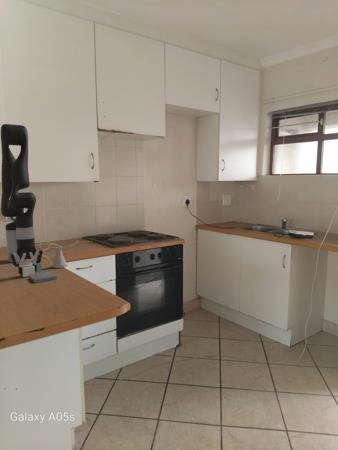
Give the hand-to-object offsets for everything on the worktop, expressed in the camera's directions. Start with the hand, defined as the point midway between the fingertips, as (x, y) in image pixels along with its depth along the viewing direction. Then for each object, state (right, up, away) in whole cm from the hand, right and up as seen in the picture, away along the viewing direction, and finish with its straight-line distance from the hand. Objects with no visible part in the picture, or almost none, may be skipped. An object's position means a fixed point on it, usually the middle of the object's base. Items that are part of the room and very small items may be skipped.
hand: (27, 273), depth 149 cm
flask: (+9, +1, +16) cm, 18 cm away
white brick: (0, -1, 0) cm, 1 cm away
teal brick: (0, 0, +9) cm, 9 cm away
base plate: (+9, -2, -5) cm, 10 cm away
